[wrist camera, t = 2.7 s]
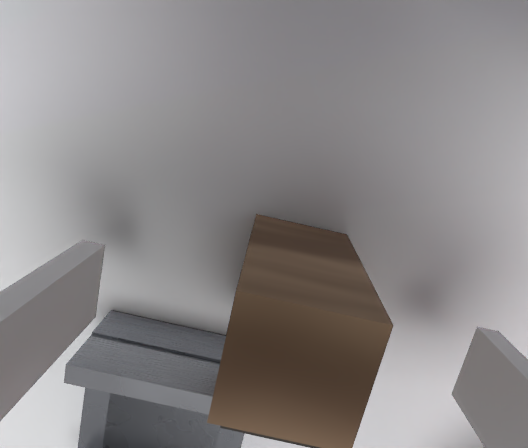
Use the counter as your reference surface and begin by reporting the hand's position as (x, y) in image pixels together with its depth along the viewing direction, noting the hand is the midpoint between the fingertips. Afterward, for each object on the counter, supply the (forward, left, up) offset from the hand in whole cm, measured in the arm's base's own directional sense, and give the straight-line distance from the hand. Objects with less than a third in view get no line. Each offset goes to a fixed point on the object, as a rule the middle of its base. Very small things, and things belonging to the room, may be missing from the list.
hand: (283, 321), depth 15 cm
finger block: (0, 0, -4) cm, 4 cm away
